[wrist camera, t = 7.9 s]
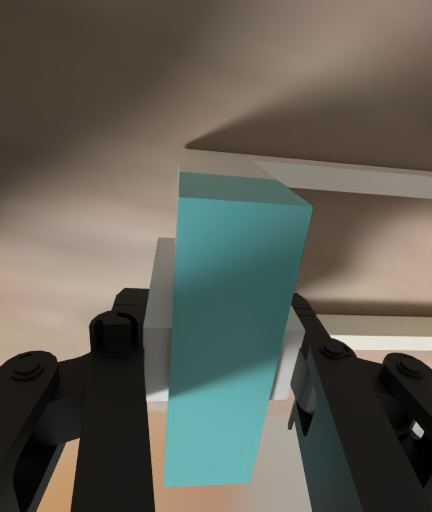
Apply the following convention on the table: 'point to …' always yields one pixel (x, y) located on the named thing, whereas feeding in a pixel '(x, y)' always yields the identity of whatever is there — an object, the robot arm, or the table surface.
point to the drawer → (252, 299)
